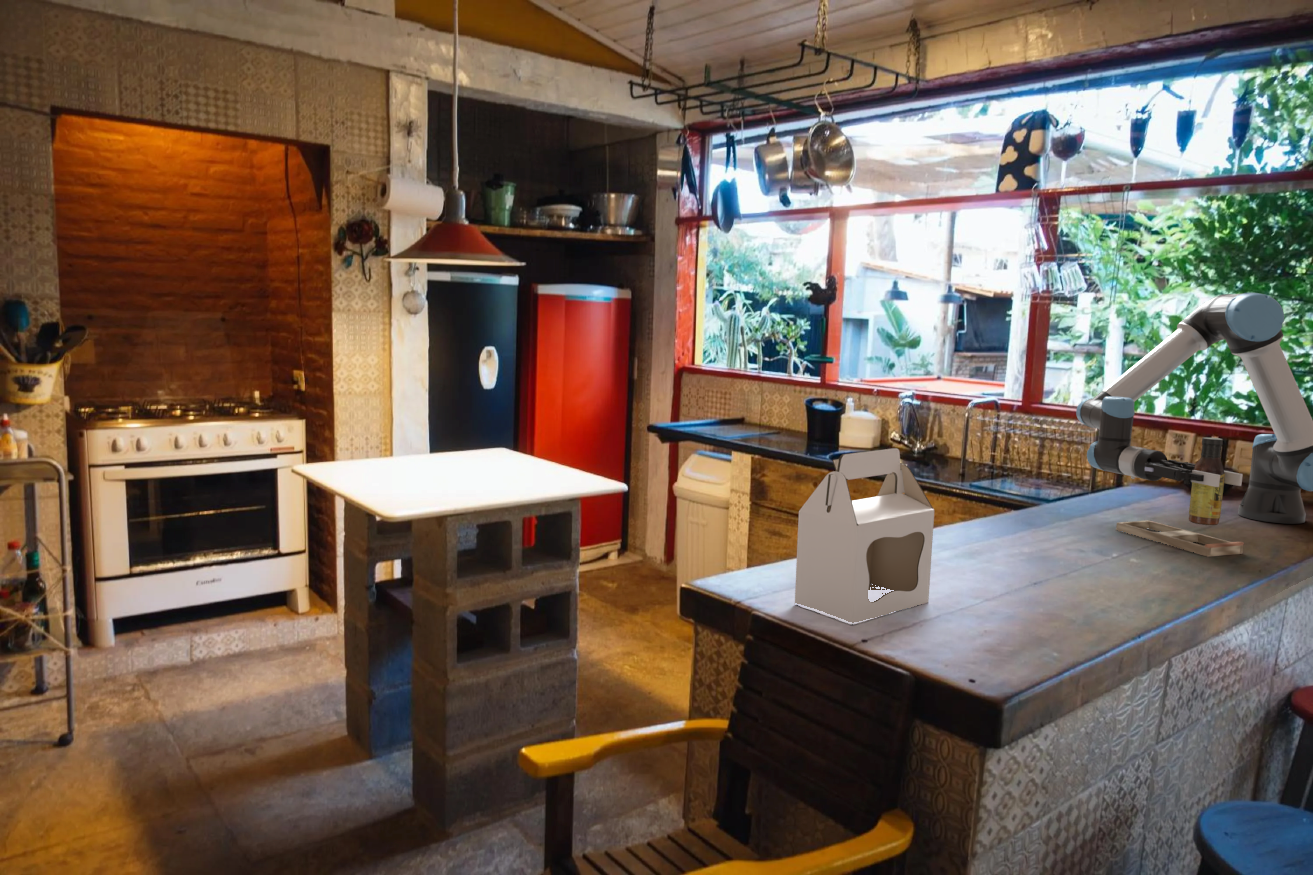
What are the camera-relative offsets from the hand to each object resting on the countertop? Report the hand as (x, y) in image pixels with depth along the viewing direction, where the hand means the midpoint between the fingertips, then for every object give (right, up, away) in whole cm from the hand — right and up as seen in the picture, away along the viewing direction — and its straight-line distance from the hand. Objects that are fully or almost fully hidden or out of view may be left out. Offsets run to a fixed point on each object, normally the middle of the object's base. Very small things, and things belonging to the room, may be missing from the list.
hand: (1229, 480), depth 202 cm
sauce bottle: (-2, -10, +6) cm, 12 cm away
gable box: (-92, -21, -39) cm, 102 cm away
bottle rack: (-4, -15, +14) cm, 21 cm away
